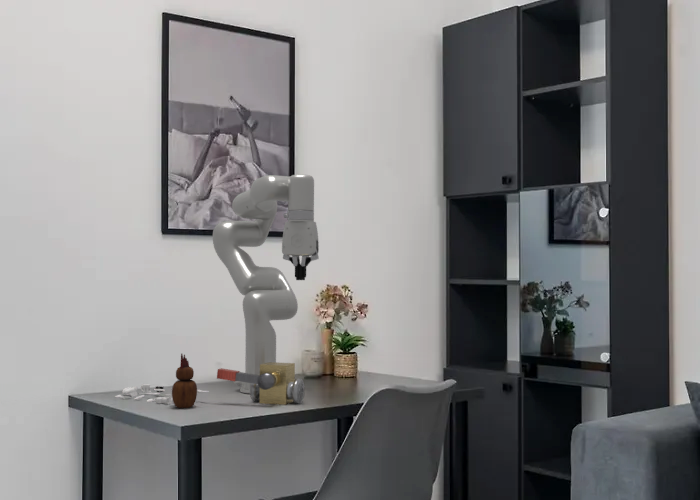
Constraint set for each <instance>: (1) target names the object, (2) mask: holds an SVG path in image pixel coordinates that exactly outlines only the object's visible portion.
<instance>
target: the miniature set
mask: <svg viewBox="0 0 700 500" xmlns="http://www.w3.org/2000/svg"><path fill="white" fill-rule="evenodd" d="M176 381H178V379H177V380H176ZM150 386H151V384H148V383H147V384H146V383H143V384H142V385H140V391H142V392H137V389H138V386H132V387H129V386H127V387H125V388H123V390H122V391H121V393H122V394H117V395H115V396H114V398H117V399H124V398H125V396H126V397H134V398H133V401H134V400H136V401H137V400H140V399H143V398H145V395H147V396H148V395H151V396H152V395H156V396H157V395H160V394H161V393H164V392H165V391H166V389H165V388H164V386H163V385H162V386H159V385H156V386H155V388H154V389H153V391H155V392H152V390H151V387H150ZM170 391H172V388H171V390H170ZM201 392H202V393H209V392H210V391H209V390H202V389H197V394H199V393H201ZM138 394H139V396H138ZM141 394H142V395H141ZM165 396H168V397H165ZM145 402H146V403H153V402H155V403H156V404H167V405H171V404H173V405H175V404H174V402H173V398H172V393H166V394H164V396H157V397H156V398H155V397H154V398H149V399H147V400H146V401H145Z"/></svg>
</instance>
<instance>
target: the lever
mask: <svg viewBox="0 0 700 500" xmlns="http://www.w3.org/2000/svg"><path fill="white" fill-rule="evenodd" d="M216 374H217V375H216V379H218V380H224V381H229V382H230V381H232V382H234V381H241V382H247V383H253V384H258V386H259V387H260V388H261V389H263V390H267V389H270V388H272V387H274V386H275V384H276V377H275V376H274V375H273V374H272V373H265V374H262V375H255V374H249V373H245V372H241V371H240V370H235V369H230V368H229V369H227V368H221V367H220V368H217V372H216Z"/></svg>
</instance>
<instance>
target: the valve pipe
mask: <svg viewBox="0 0 700 500" xmlns="http://www.w3.org/2000/svg"><path fill="white" fill-rule="evenodd" d="M295 366H296V363H295V362H277V361H276V362H268V363H264V364H260V375H262V374H265V373H272V374H273V375H274V376H275V377H276V384H275V386H274V387H272V388H270V389H267V390H263V389H261V388H260V387H259V386H258V384H253V383H251V385H250V394H249V395H250V399H251V401H252V402H259V404H263V405H264V404H266V405H268V404H269V405H285V406H286V405H289V404H291V403H293V404H299V405H300V404H301V403H302V402H303V399H304V398H305V383H304V380H303V379H302V378H295V377H296V375H295V373H296V372H295V371H296V367H295Z"/></svg>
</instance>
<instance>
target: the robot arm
mask: <svg viewBox="0 0 700 500" xmlns="http://www.w3.org/2000/svg"><path fill="white" fill-rule="evenodd" d="M250 186H251V187H250V189H248V190H244V191H243V192H241V193H239V194H237V195H236V196H235V197H234V198H233V201H232V204H231V208H232V211H233V213H234V214H235V216H237V217H239V218H240V219H241V218H242V219H247V220H246V221H245V220H226V221H220V222H219V223H217V224H215V226H214V228H213V230H212V245H213V248H214V251H215V253H216V254H217V257H218V259H219V260H220V261H221V262H222V263H223V265H224V266H225V268H226V269H227V271H228V273H229V274H230V277H231V279H232V281H233V283H234V285H235V287H236V289H237V290H238V292H239V294H240V295H243V296H244V297H243V300H242V311H243V316H244V317H243V319H244V325H245V326H244V327H245V367H244V371H245V372H244V373H249V374H255V375H260V364H264V363H268V362H277V334H276V331H275V328H274V326H273V325H272V323H271V322H272V321H283V320H284V321H287V320H291V319H293V318H295V316H296V315H297V313H298V309H299V307H298V300H297V297H296V295H295V292H294V291H293V289H292V287H291V286H290V283H289V282H288V280H287V278H286V277H285V275H284V273H283V272H282V271H281V270H280V269H278V268H277V267H273V266H258V265H256V264H255V263H254V261H253V259H252V257H251V255H249V253H248V252H246V251H245V250H244V249H242V247H243V248H246V247H247V248H248V247H249V248H257V247H260V246H262V245H263V244H264V243H265V242H266V240H267V238H268V235H269V232H270V230H271V228H272V225H273V223H274V221H275V218H276V216H277V212H278V202H285V203H286V202H287V203H288V205H287V212H286V213H283V218H284V219H287V221H285V222H284V226H283V232H282V233H283V234H282V240H281V241H282V242H281V253H282V254H283V255H282V259H283V260H285V261H289V262H291V264H292V265H293V267H294V278H295V279H296V281H305V279H306V278H307V267H308V265H309V264H310V263H311V262H313V261H317V260H319V247H320V245H319V243H320V241H319V233H318V227H317V222H316V221H315V220H314V219H315V179H314V177H313V176H312V175H309V174H292V175H291V176H289V175H288V176H286V175H272V174H271V175H269V174H268V175H264V176H261V177H259V178H256V179H255V180H253V182H252V184H251V185H250ZM249 219H251V220H252V219H253V220H254V221H250V220H249ZM248 220H249V221H248ZM300 257H301V258H300ZM300 259H301V261H300ZM233 384H234V385H241V387H239V388H240V389H239V391H240V392H241V393H243V394H249V395H250V385H251V383H247V382H241V381H233Z"/></svg>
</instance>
